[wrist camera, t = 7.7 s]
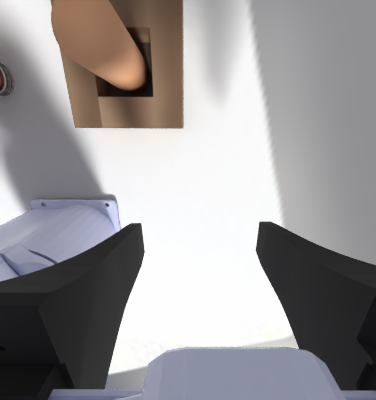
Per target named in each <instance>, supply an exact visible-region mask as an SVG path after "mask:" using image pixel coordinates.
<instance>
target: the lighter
mask: <svg viewBox="0 0 376 400" xmlns="http://www.w3.org/2000/svg"><path fill="white" fill-rule="evenodd" d="M13 87H14V81H13V78H12V75H11V73H10V71H9V70H8V69H7V67H6V66H5V65H3V64H1V63H0V96H5V95H9V94H10V93H11V92H12V90H13Z"/></svg>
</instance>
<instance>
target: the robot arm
mask: <svg viewBox="0 0 376 400" xmlns="http://www.w3.org/2000/svg"><path fill="white" fill-rule="evenodd" d="M44 203H45V204H46V205H44ZM106 203H108V204H109V206H107V205H106ZM30 206H31V209H32V210H30V211H28V212H26V213H24V214H22V215H20V216H18V217H16V218H14V219H12V220H11V221H9V222H7V223H5V224H3V225H1V226H0V400H376V265H373V264H369V263H366V262H363V261H360V260H357V259H353V258H350V257H348V256H345V255H342V254H339V253H337V252H334V251H331V250H329V249H326V248H324V247H322V246H319V245H317V244H315V243H313V242H310V241H308V240H306V239H304V238H302V237H300V236H298V235H296V234H294V233H292V232H290V231H288V230H287V229H285V228H283V227H281V226H279V225H277V224H275V223H272V222H260V223H259V231H258V238H257V246H256V252H257V255H258V258H259V261H260V263H261V266H262V268H263V270H264V271H265V273H266V275H267V277H268V279H269V281H270V283H271V285H272V287H273V288H274V290H275V292H276V294H277V296H278V298H279V300H280V302H281V304H282V306H283V309H284V311H285V313H286V316H287V318H288V321H289V323H290V326H291V328H292V331H293V334H294V336H295V339H296V341H297V344H298V347H299V349H295V348H289V347H184V348H178V349H173V350H167V351H166V352H164V353H163V354H161V355H160V356H158V357H157V358H155V359H154V360H153V361H151V362H150V363H149V365H148V368H147V372H146V376H145V381H144V386H143V390H107V389H105V385H106V380H107V376H108V371H109V367H110V363H111V359H112V355H113V351H114V347H115V343H116V339H117V335H118V331H119V327H120V324H121V320H122V317H123V313H124V310H125V306H126V303H127V301H128V298H129V295H130V293H131V290H132V288H133V285H134V283H135V280H136V278H137V275H138V273H139V270H140V267H141V264H142V260H143V256H144V252H145V251H144V243H143V235H142V227H141V223H131V224H129V225H127V226H126V227H124V228H123V229H121V230H120V224H119V216H118V209H117V203H116V202H115V201H114V200H42V199H35V200H32V201H31V202H30Z"/></svg>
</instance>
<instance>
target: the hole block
mask: <svg viewBox="0 0 376 400" xmlns="http://www.w3.org/2000/svg"><path fill="white" fill-rule="evenodd" d="M109 2H110V3H111V5H112V6H113V8H114V9H115V11H116V13H117V14H118V16H119V18H120V19H121V21H122V23H123V24H124V26H125V28H126V29H127V31H128V32H129V34H130V36H131V37H132V39H133V41H134V42H135V44H136V46H137V47H138V49H139V51H140V52H141V54H142V56H143V57H144V59H145V60H146V62H147V64H148V66H149V69H150V81H149V84H148V86H147V88H146V89H145V90H144V91H143V92H141V93H139V94H135V95H133V94H128V93H126V92H124V91H123V90H121V89H119V88H118V87H116V86H114V85H113V84H111V83H109V82H108V81H106V80H104V79H103V78H101V77H99V76H98V75H96V74H94V73H93V72H91V71H89V70H88V69H86V68H84V67H83V66H81V65H79V64H78V63H76V62H74V61H73V60H72V59H70V58H69V57H68V56H67V55H66V54H65V53H64V51H63V50H62V49H61V47H60V52H61V57H62V62H63V67H64V72H65V78H66V83H67V88H68V93H69V99H70V104H71V109H72V114H73V119H74V125H75V128H183V0H109ZM53 3H54V0H51V5H52V6H53Z"/></svg>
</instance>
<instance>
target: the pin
mask: <svg viewBox="0 0 376 400" xmlns="http://www.w3.org/2000/svg"><path fill="white" fill-rule="evenodd" d="M51 22H52V28H53V32H54V35H55V38H56V40H57V42H58V44H59V46H60V47H61V49H62V50H63V51H64V53H65V54H66V55H67V56H68V57H69V58H70V59H72V60H73V61H74V62H76V63H78V64H79V65H81V66H83V67H84V68H86V69H88V70H89V71H91V72H93V73H94V74H96V75H98V76H99V77H101V78H103V79H104V80H106V81H108V82H109V83H111V84H113V85H114V86H116V87H118V88H119V89H121V90H123V91H124V92H126V93H128V94H133V95H135V94H139V93H141V92H143V91H144V90H145V89H146V88H147V86H148V84H149V81H150V69H149V66H148V64H147V62H146V60H145V59H144V57H143V56H142V54H141V52H140V51H139V49H138V47H137V46H136V44H135V42H134V41H133V39H132V37H131V36H130V34H129V32H128V31H127V29H126V28H125V26H124V24H123V23H122V21H121V19H120V18H119V16H118V14H117V13H116V11H115V9H114V8H113V6H112V5H111V3H110V2H109V0H54V3H53V6H52V12H51Z"/></svg>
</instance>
